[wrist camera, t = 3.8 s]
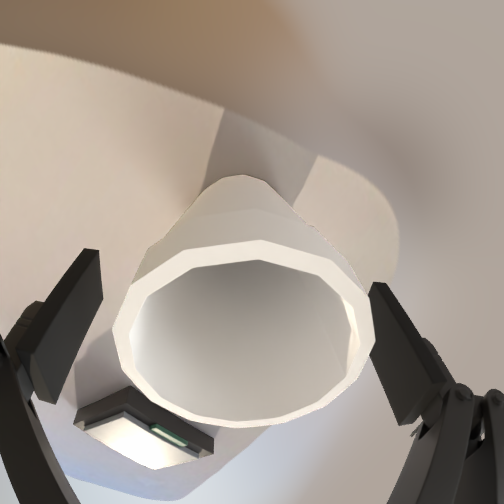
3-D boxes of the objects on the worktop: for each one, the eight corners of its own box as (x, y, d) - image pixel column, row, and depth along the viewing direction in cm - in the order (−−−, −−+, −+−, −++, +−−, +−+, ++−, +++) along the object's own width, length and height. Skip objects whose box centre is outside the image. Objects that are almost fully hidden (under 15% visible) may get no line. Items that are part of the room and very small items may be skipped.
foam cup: (175, 147, 20) (95, 229, 8) (315, 158, 20) (409, 251, 9) (174, 272, 24) (136, 419, 13) (294, 280, 25) (333, 425, 13)
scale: (214, 438, 36) (213, 459, 33) (154, 455, 39) (151, 473, 36) (130, 385, 31) (124, 408, 28) (77, 410, 33) (71, 429, 31)
